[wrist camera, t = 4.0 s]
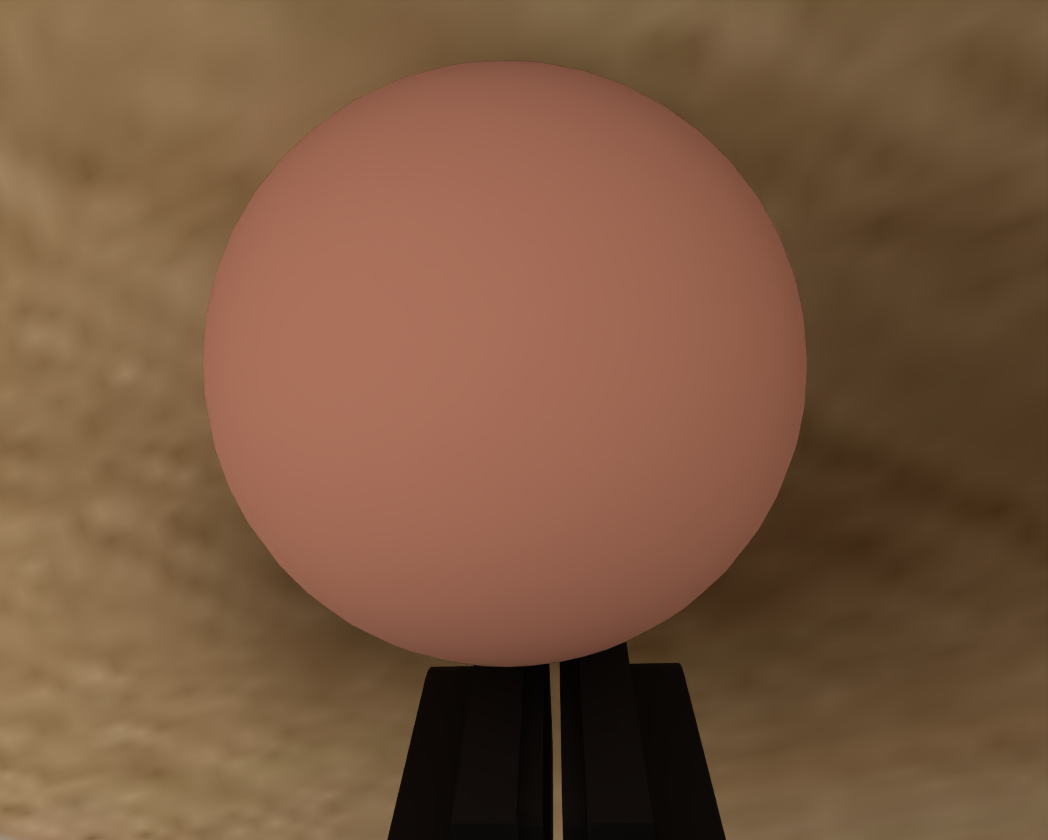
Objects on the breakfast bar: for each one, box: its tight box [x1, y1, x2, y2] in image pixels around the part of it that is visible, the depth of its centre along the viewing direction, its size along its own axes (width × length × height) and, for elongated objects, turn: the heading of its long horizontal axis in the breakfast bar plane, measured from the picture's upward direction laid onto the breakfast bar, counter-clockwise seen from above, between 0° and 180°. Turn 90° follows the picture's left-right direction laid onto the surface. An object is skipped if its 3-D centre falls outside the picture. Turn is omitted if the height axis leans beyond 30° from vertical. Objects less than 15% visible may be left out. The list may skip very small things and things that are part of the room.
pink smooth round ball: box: [203, 61, 807, 667], centre depth 7 cm, size 6×6×6 cm
